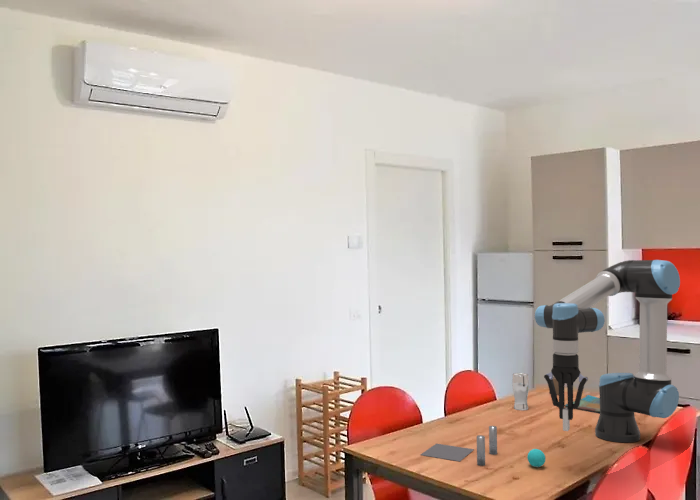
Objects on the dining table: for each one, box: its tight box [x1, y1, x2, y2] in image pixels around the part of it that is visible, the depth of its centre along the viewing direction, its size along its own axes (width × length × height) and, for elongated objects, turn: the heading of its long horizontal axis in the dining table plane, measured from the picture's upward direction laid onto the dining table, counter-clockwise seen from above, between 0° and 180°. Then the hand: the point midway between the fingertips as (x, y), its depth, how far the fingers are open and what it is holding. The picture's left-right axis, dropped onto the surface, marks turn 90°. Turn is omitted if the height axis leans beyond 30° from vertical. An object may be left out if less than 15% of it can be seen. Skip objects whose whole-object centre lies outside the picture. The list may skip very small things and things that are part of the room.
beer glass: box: [511, 372, 530, 411], centre depth 268 cm, size 7×7×15 cm
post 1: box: [476, 434, 486, 467], centre depth 197 cm, size 3×3×9 cm
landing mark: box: [419, 443, 475, 463], centre depth 210 cm, size 14×14×1 cm
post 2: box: [488, 425, 498, 456], centre depth 208 cm, size 3×3×9 cm
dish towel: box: [564, 394, 600, 415], centre depth 271 cm, size 17×23×2 cm
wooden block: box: [548, 376, 559, 396], centre depth 294 cm, size 4×4×8 cm
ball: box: [526, 448, 546, 468], centre depth 195 cm, size 6×6×6 cm
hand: (566, 429), depth 190 cm, fingers closed
